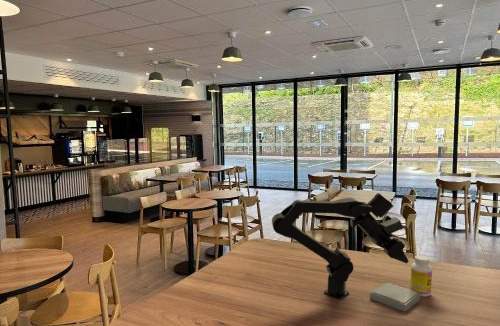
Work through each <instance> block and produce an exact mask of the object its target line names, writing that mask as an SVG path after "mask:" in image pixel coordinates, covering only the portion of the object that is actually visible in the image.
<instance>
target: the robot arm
mask: <svg viewBox="0 0 500 326" xmlns="http://www.w3.org/2000/svg"><path fill="white" fill-rule="evenodd" d="M392 208H394V205H393V203H392V202H391V201H390V200H388V199H387V198H386V197H384V196H383V195H382V194H381V193H379V192H377V193H376V194H375V195H374V197H372V199H370V200H369V201H368V202H367V203H366V202H365V201H359V200H357V199H355V198H353V197H345V198H339V199H336V200H301V199H296V200H294V201H293V202H292V203H291V204H290V205H288V206H287V207H285V208H284V209H283V210H282V211H280V212H279V213H276V214H274V215H273V216H272V218H271V224H272V229H273V230H274V232H275V233H276V234H278V235H281V236H283V237H286V238H289V239H291V240H295V241H296V242H298V243H299V244H301V245H302V246H304V247H306V249H308V250H310V251H311V252H312V253H314V254H316V255H317V256H318V257H320V258H322V259H323V260H325V261H326V262H327V263H328V264H327V265H326V266H325V268H326V270H327V272H328V277H327V289H325V290H323V293H324V294H325V295H329V296H331V297H333V298H336V299H338V300H340V299H342V298H344V297H346V296H348V295H349V294H350V291H348V290H346V287H347V286H346V285H347V283H346V282H347V281H348V279H349V277H350V275H351V274H352V273H353V271H354V263H353V262H352V261H351V258H350V256H349V255H348V254H347V253H346V252H344V251H342V250H341V249H339V247H336V248H335V249H330V248H329V247H327V246H326V245H325V244H323V243H321V242H320V241H318V240H317V239H315V238H314V237H313V236H311V235H309V234H308V233H306V232H305V231H303V230H302V229H300V228H299V227H298V226H297V225H295V221H297V219H298V218H299V216H300V215H302V214H336V215H341V216H344V217H349V218H350V222H349V225H350V226H351V227H352V228H353V229H355V228H357V226H358V227H359V228H360V229H361V230H362V231H363V232H364V233H365V235H367V236H368V239H369V240H370V241H371V242H372V243H373V244H375V245H376V246H378V247H380V248H382V249H383V252H384V253H385V254H386V255H387V256H388V257H389V258H390V259H394V260H397V261H399V262H401V263H405V264H409V262H410V261H409V259H408V257H407V255H406V254H405V252H404V249H405V248H406V247H405V246H406V244H405V243H404V242H403V241H402V240H401V239H399V238H397V237H393V236H394V233H396V232H399V231H402V230H404V226H403V224H402V221H401V219H400V218H398V217H394V216H392V217H391V216H390V215H386V214H388V212H390V210H392ZM376 218H377V219H378V218H383V221H382V223H381V222H379V221H378V220H377V219H376ZM392 237H393V238H392Z"/></svg>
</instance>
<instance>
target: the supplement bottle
mask: <svg viewBox="0 0 500 326" xmlns="http://www.w3.org/2000/svg"><path fill="white" fill-rule="evenodd" d="M410 268H411V269H410V286H409V287H410V288H409V290H412V291H416V292H418V293H421V297H424V298H425V297H430V296H431V295H432V281H433V280H432V279H433V278H432V277H433V267H432V266H431V265H430V257H428V256H425V255H421V254H420V255H419V254H418V255H415V256H414V262H413V263H411V267H410Z"/></svg>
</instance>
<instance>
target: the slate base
mask: <svg viewBox="0 0 500 326" xmlns="http://www.w3.org/2000/svg"><path fill="white" fill-rule="evenodd" d="M421 297H422V296H421V293H418V292H416V291H412V290H410V288H405V287H403V286H400V285H396V284H394V283H391V282H388V281H387V282H384V283H383V284H382V285H380V286H378V287H377V288H374V289H373V290H371V291H370V293H369V300H373V301H374V302H378V303H381V304H384V305H386V306H388V307H392V308H394V309H397V310H400V311H401V312H407V311H408V310H409V309H411V308H412V307H413V306H414V305H416V304H417V303H418V302H419V301H420V300H421Z"/></svg>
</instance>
